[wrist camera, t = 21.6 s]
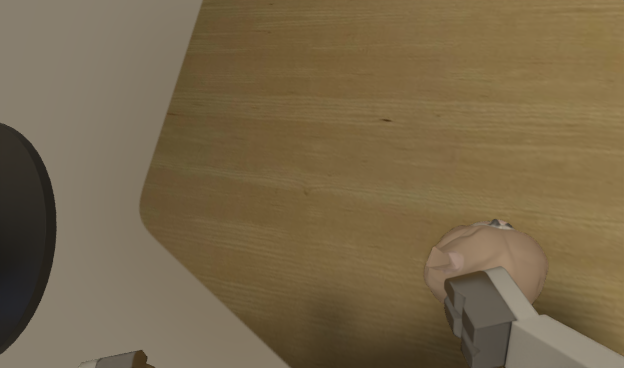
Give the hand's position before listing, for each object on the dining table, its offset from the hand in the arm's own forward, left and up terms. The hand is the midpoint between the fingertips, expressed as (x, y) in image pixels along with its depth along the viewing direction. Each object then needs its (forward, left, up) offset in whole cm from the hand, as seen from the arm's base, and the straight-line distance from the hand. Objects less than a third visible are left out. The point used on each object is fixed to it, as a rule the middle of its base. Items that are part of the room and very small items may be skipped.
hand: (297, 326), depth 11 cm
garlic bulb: (+5, -1, -21) cm, 22 cm away
